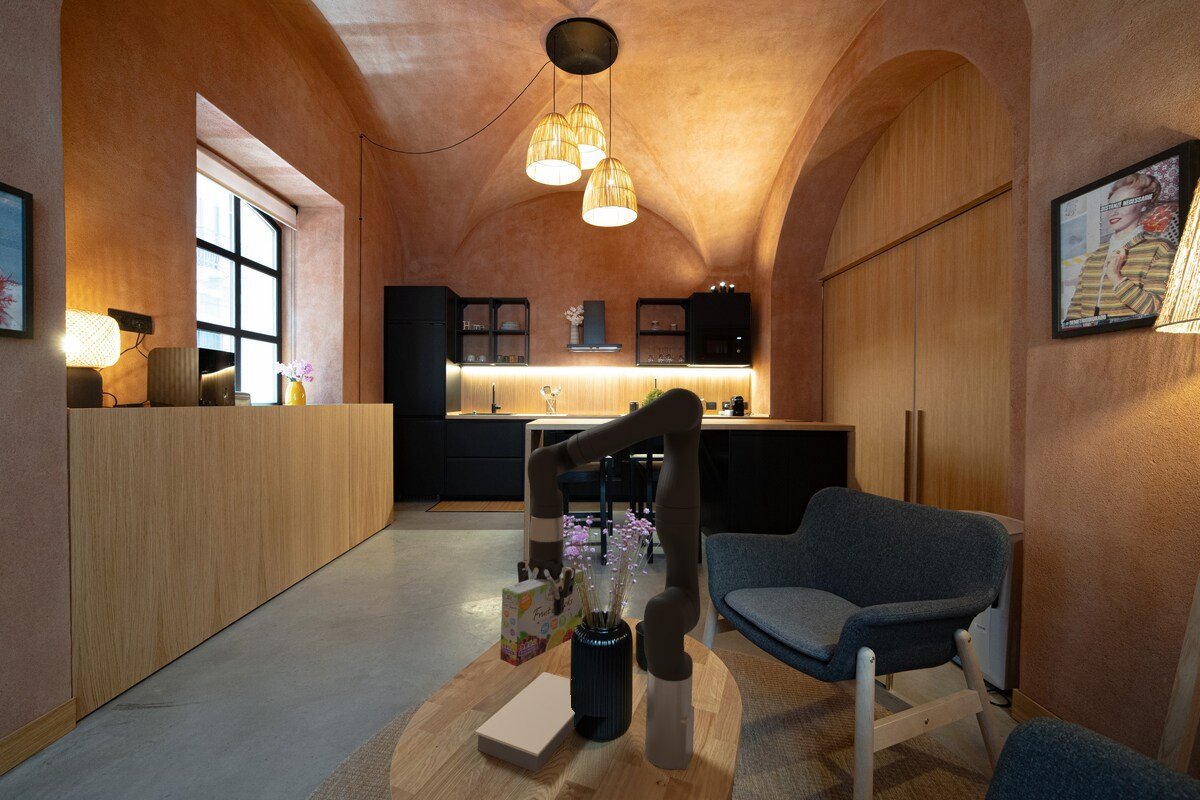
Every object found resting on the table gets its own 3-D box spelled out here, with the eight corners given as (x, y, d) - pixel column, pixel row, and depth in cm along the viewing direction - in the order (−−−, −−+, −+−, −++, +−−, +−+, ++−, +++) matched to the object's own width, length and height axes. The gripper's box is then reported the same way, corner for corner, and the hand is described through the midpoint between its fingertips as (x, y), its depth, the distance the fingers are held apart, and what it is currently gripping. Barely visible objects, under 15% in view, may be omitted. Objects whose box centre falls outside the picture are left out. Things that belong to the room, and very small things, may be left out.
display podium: (597, 704, 124) (597, 687, 124) (537, 775, 100) (537, 754, 100) (543, 687, 130) (543, 671, 131) (474, 750, 106) (475, 731, 106)
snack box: (518, 668, 105) (519, 593, 105) (499, 660, 108) (500, 587, 109) (583, 634, 122) (584, 569, 122) (565, 628, 125) (566, 564, 126)
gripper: (583, 536, 116) (581, 612, 116) (528, 528, 122) (526, 600, 122) (566, 544, 109) (565, 624, 109) (510, 535, 115) (508, 611, 115)
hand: (544, 611), depth 115 cm, fingers closed on snack box, 6 cm apart
